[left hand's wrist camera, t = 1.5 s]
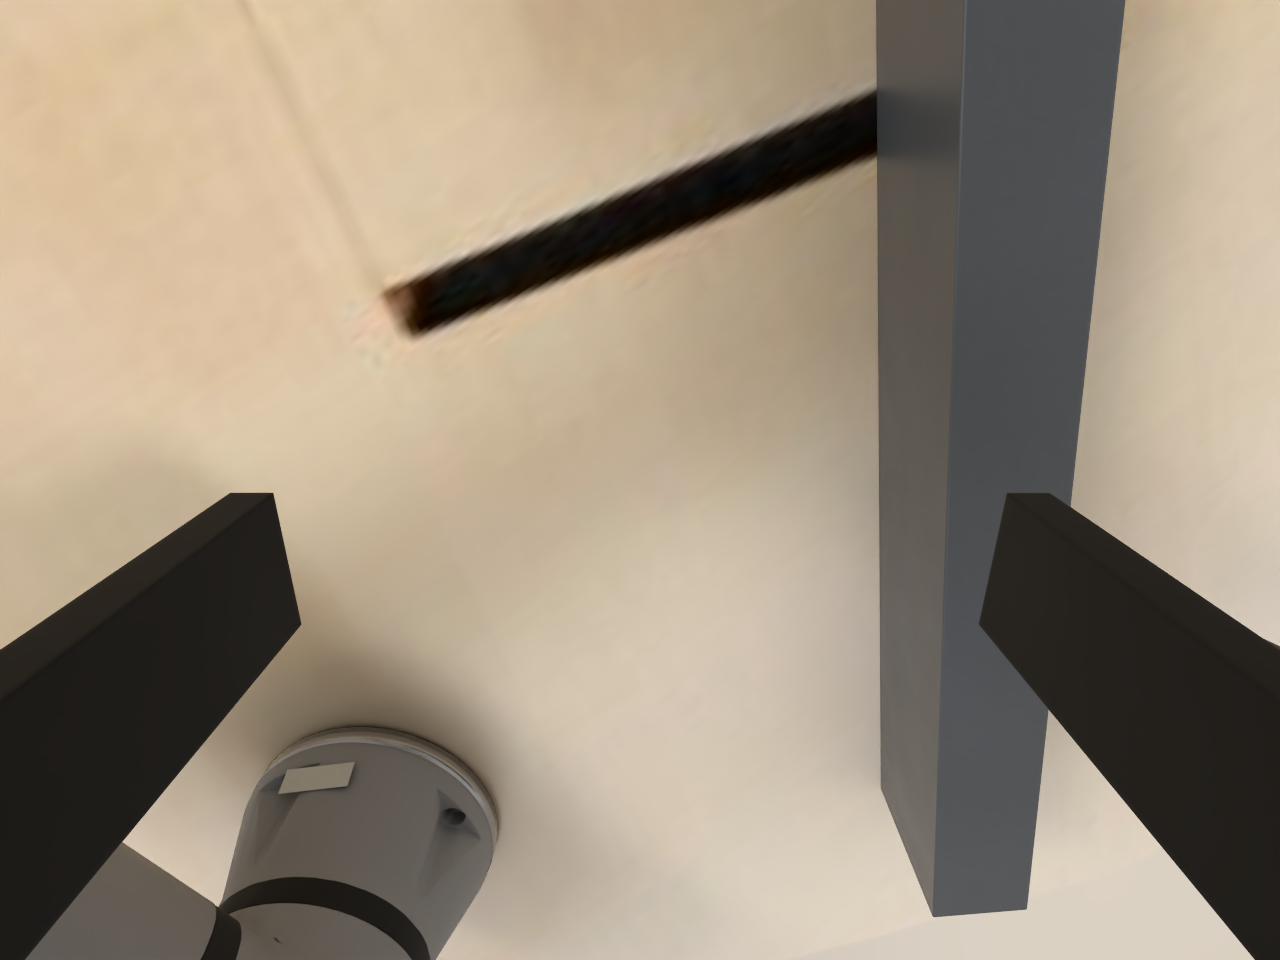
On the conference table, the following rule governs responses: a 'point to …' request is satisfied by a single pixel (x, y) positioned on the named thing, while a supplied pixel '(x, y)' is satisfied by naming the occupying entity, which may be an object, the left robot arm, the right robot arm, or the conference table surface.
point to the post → (977, 394)
